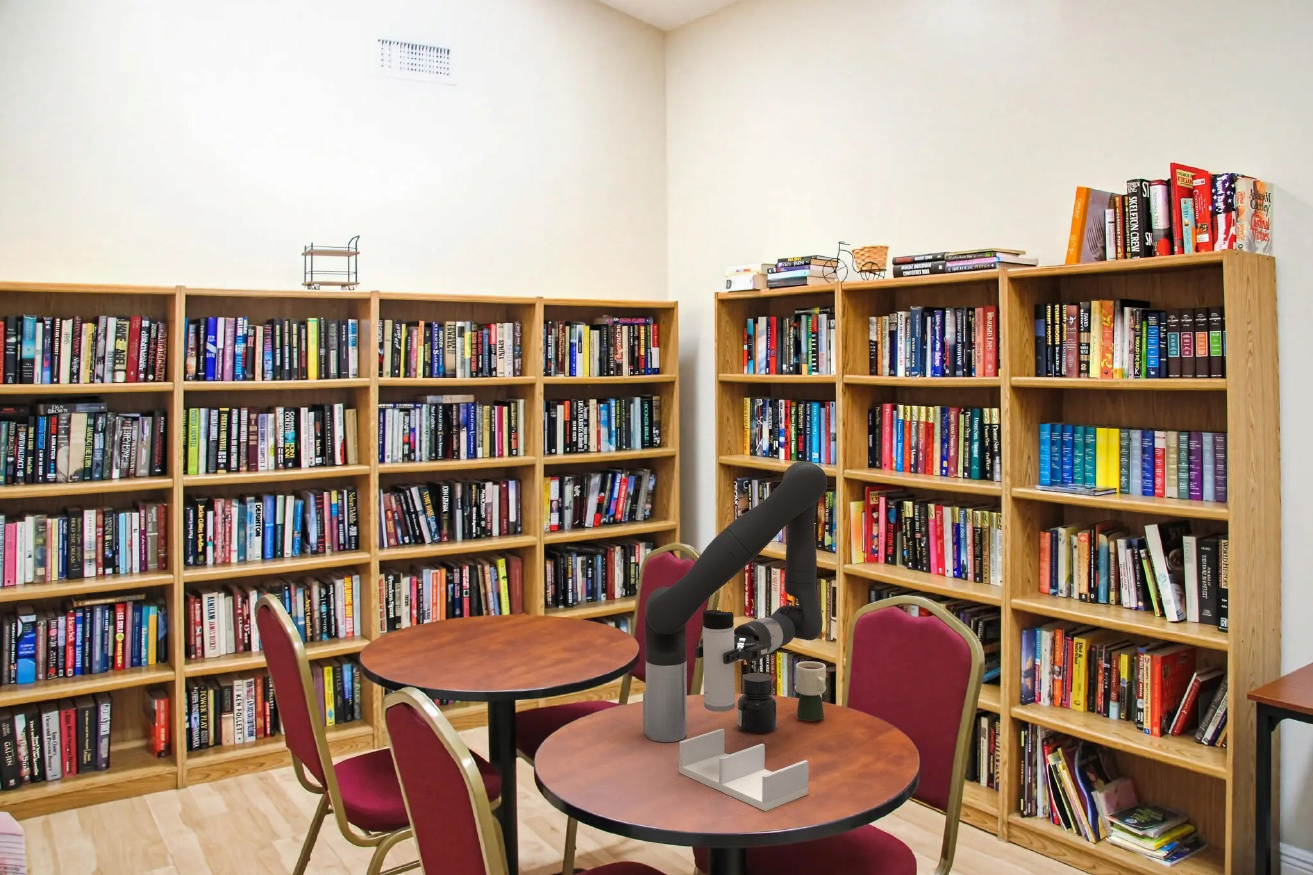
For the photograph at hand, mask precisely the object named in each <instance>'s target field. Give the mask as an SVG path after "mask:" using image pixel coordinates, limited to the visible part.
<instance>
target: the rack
mask: <svg viewBox="0 0 1313 875" xmlns="http://www.w3.org/2000/svg"><path fill="white" fill-rule="evenodd" d="M765 750H766V748H765V744H764V743H760V744H759V743H758V744H756V745H754V746H750V747H747V748H745V749H742V750H739V751H735V752H733V753H730V754H729V753H726V752H725V729H724V728H719V729H716V730H713V731H709V732H706V733H703V734H700V735H697V736H694V737H691V738H688V739H685V740H684V739H683V740H680V741H679V774H681V775H684V776H685V777H688V778H690V779H693V780H694V781H697V782H699V783H701V784H703V785H705V786H708V787H710V788H712V789H715V790H717V791H719V792H722V793H723V794H726V795H727V796H730V797H732V798H735V799H737V800H739V801H741V802H743V803H746V804H748V805H750V806H752V807H755V808H757V809H759V810H762V811H764V812H767V811H770V810H772V809H775V808H777V807H779V806H782V805H784V804H787V803H790V802H792V801H795V800H797V799H799V798H802V797H804V796H807V795H809V761H808V760H806V759H804V760H802V761H799V762H796V763H793V764H791V765H789V766H786V767H784V768H780V769H778V770H775V771H771V770H769V769H767V768H765V762H766V761H765V756H766V755H765Z"/></svg>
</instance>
